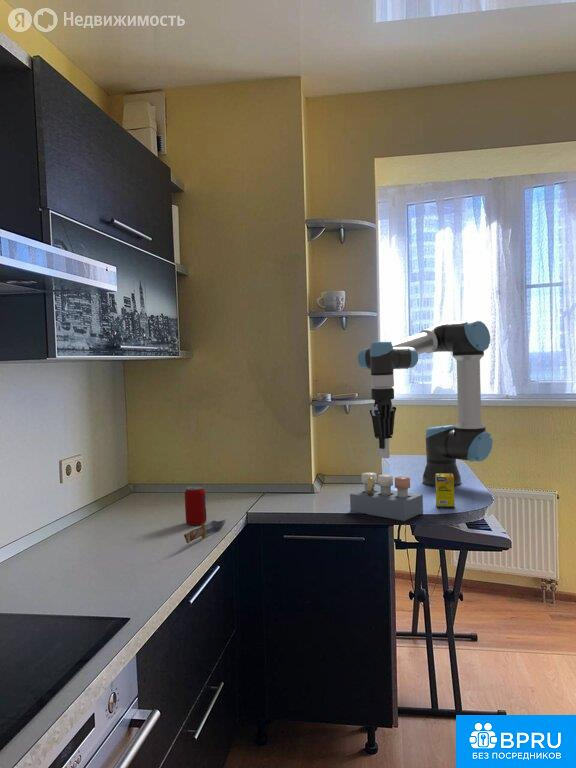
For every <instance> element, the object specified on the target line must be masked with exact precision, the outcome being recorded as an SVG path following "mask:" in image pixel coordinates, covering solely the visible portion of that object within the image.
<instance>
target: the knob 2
mask: <svg viewBox="0 0 576 768" xmlns="http://www.w3.org/2000/svg"><path fill="white" fill-rule="evenodd" d="M377 485H378V486H379V487H380V489H381V495H382V496H390V495H391V490H392V488H391V487H393V485H394V475H393V474H384V473H383V474H379V475H377Z"/></svg>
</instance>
